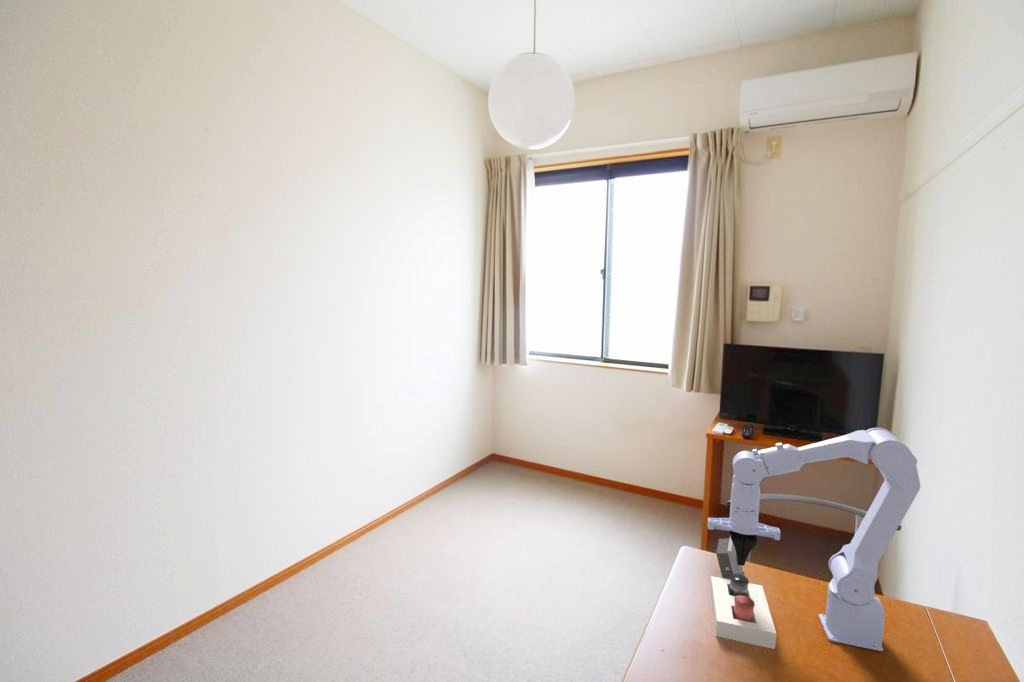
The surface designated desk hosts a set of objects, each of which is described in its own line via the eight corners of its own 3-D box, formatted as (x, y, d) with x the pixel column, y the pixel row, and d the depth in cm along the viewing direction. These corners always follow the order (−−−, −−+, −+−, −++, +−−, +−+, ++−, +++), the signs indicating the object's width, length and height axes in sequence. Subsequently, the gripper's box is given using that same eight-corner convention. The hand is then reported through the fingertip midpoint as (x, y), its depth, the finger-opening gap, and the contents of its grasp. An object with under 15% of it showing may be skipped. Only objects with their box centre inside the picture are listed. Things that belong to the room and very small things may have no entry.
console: (761, 599, 111) (762, 585, 111) (775, 649, 96) (776, 633, 96) (710, 589, 115) (711, 576, 114) (716, 636, 100) (717, 620, 99)
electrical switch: (740, 590, 115) (739, 553, 114) (717, 585, 117) (715, 549, 116) (742, 570, 123) (741, 535, 122) (720, 566, 125) (719, 532, 125)
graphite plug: (746, 591, 110) (747, 575, 110) (748, 601, 107) (749, 585, 106) (728, 588, 111) (729, 572, 111) (730, 598, 108) (731, 582, 107)
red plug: (751, 614, 103) (752, 597, 102) (754, 626, 99) (755, 608, 99) (732, 610, 104) (733, 593, 103) (734, 622, 100) (735, 604, 100)
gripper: (777, 503, 108) (772, 559, 110) (708, 493, 112) (704, 547, 114) (784, 517, 101) (779, 577, 103) (710, 507, 106) (706, 564, 107)
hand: (740, 562), depth 108 cm, fingers closed
